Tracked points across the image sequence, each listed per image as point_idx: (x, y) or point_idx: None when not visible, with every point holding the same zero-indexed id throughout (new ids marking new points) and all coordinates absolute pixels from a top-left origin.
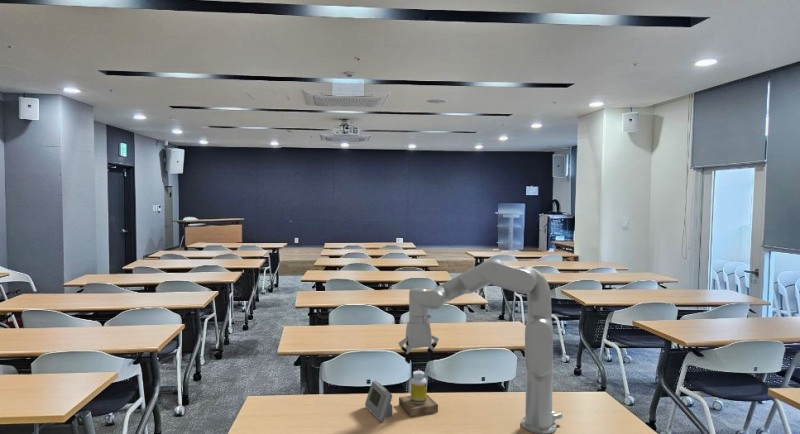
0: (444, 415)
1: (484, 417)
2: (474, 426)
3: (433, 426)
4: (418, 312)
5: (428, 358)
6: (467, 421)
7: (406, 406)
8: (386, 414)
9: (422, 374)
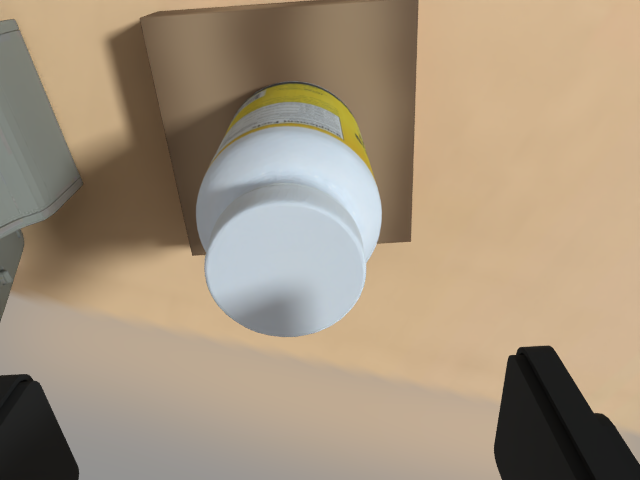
0: (418, 264)
1: (611, 337)
2: (497, 393)
3: (302, 349)
4: None
5: (506, 395)
6: (498, 349)
7: (179, 188)
8: (18, 262)
9: (314, 332)
